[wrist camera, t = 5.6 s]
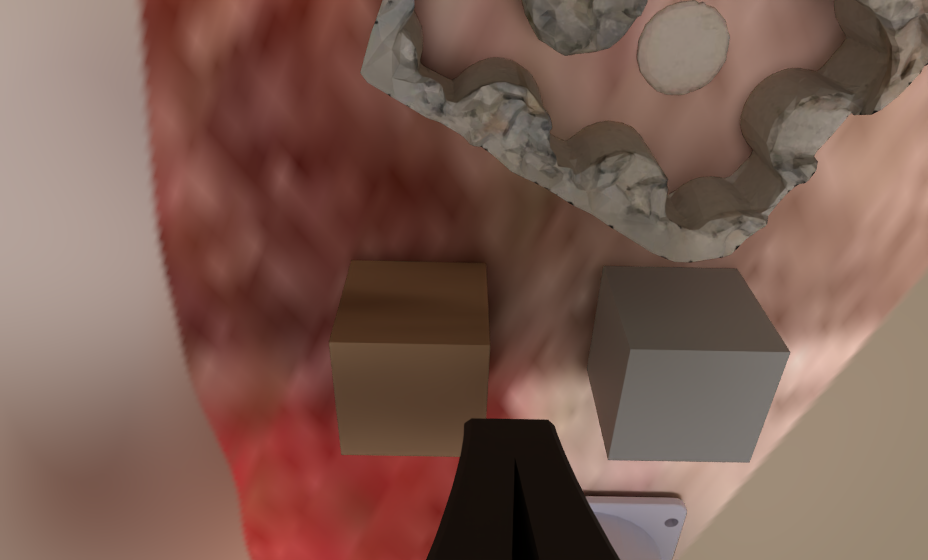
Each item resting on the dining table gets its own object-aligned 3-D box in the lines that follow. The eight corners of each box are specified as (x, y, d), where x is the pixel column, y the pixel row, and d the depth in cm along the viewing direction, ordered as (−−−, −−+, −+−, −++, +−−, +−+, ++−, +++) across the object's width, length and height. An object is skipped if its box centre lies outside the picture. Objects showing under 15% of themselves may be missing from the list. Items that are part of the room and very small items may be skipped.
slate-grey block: (706, 369, 22) (749, 462, 19) (586, 366, 22) (608, 459, 19) (735, 267, 20) (790, 352, 17) (603, 264, 20) (630, 349, 17)
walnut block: (480, 364, 22) (483, 457, 19) (360, 362, 22) (341, 454, 19) (486, 261, 20) (490, 345, 17) (351, 258, 20) (328, 342, 17)
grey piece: (892, -3, 16) (1010, 38, 13) (682, 231, 20) (730, 313, 16) (529, -310, 13) (554, -366, 10) (355, 32, 16) (328, 81, 13)
